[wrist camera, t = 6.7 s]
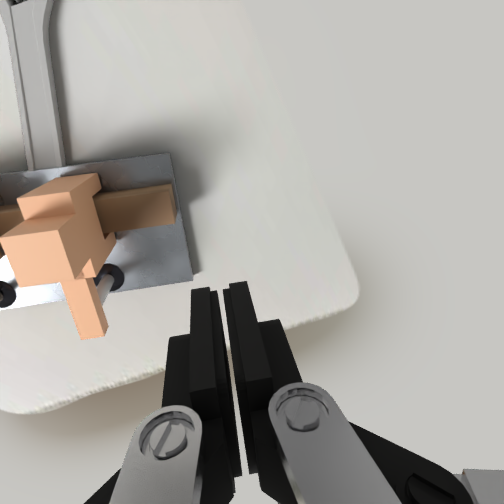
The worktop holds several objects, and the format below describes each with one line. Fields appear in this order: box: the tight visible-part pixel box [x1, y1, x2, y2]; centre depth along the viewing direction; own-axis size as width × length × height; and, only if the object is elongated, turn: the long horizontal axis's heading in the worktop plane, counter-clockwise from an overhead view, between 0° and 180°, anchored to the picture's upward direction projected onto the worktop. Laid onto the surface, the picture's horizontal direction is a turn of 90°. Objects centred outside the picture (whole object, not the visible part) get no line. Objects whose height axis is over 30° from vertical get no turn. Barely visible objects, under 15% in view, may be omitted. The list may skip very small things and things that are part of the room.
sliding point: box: [0, 173, 117, 340], centre depth 24 cm, size 10×3×9 cm, turn 6°
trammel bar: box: [0, 184, 177, 302], centre depth 24 cm, size 10×18×10 cm, turn 96°
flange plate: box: [0, 153, 193, 310], centre depth 29 cm, size 11×18×1 cm, turn 96°
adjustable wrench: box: [0, 0, 66, 171], centre depth 25 cm, size 25×6×2 cm, turn 171°
